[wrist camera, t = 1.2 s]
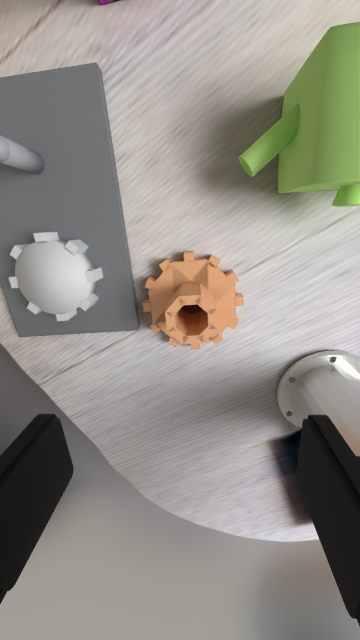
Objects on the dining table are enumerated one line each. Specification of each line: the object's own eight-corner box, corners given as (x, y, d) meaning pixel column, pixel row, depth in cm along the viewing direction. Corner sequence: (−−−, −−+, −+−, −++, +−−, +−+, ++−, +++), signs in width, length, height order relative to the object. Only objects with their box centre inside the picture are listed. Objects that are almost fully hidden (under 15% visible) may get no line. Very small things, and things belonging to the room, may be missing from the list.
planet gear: (241, 341, 32) (252, 370, 25) (151, 346, 33) (140, 375, 26) (240, 247, 28) (254, 252, 21) (138, 255, 29) (122, 263, 22)
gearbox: (231, 213, 27) (245, 212, 19) (233, 100, 23) (252, 33, 15) (406, 202, 26) (512, 196, 17) (440, 78, 22) (599, -11, 13)
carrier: (140, 326, 32) (125, 352, 25) (25, 333, 33) (-18, 359, 27) (101, 70, 23) (62, 5, 16) (-54, 94, 25) (-149, 43, 18)
